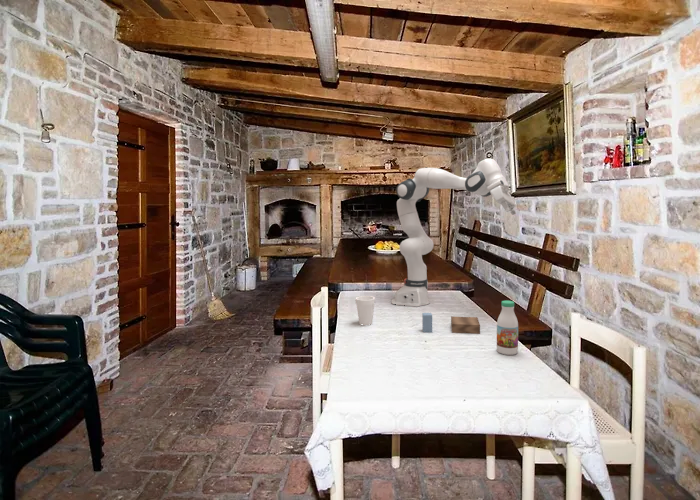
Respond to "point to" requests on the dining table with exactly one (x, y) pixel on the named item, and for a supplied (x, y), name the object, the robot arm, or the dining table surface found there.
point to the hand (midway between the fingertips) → (511, 212)
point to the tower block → (427, 322)
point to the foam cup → (365, 309)
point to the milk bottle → (507, 329)
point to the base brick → (465, 325)
